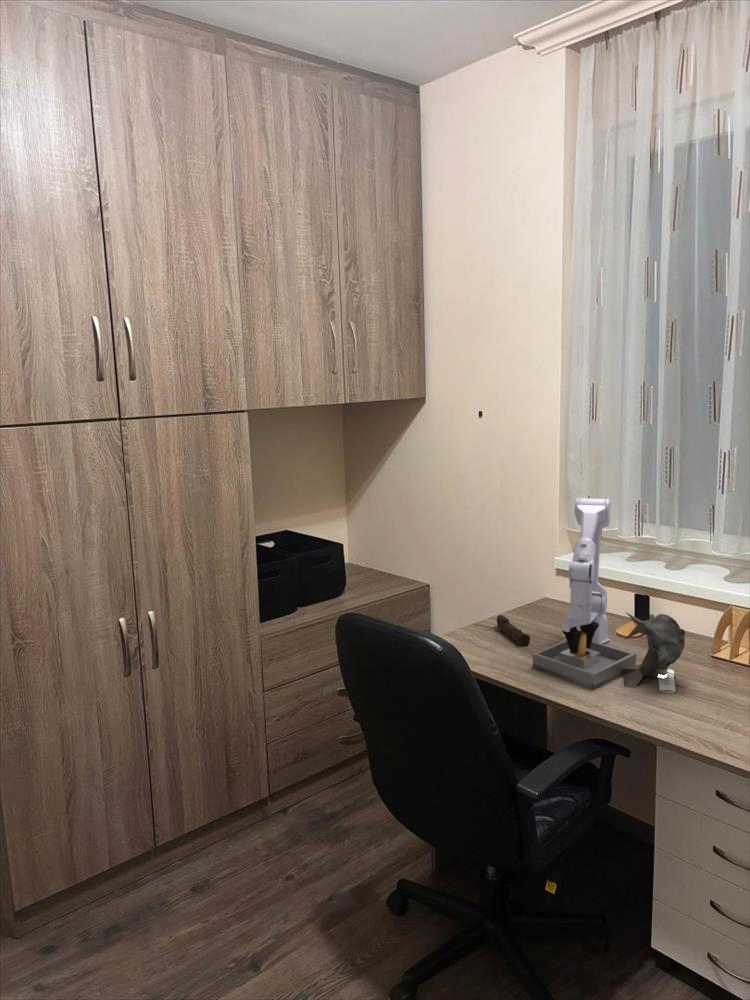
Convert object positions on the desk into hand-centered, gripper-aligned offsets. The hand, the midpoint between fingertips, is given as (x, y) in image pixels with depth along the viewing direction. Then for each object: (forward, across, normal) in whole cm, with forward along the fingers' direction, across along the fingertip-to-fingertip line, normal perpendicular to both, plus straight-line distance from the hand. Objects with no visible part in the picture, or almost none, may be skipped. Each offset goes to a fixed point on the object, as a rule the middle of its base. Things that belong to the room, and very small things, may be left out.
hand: (580, 649), depth 212 cm
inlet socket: (+4, 0, 0) cm, 4 cm away
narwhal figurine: (+5, -6, +19) cm, 20 cm away
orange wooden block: (+3, 0, 0) cm, 3 cm away
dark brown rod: (+5, -3, -28) cm, 29 cm away
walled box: (+4, +1, +2) cm, 5 cm away
